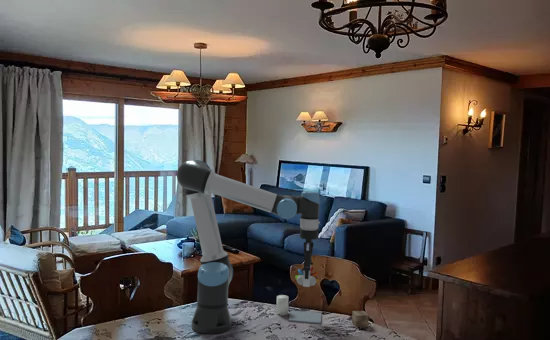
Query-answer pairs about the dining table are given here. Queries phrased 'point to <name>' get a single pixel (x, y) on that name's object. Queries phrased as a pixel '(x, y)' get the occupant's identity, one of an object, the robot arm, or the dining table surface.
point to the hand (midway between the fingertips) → (306, 283)
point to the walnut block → (360, 318)
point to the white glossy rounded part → (282, 305)
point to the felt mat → (305, 317)
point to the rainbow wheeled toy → (313, 277)
